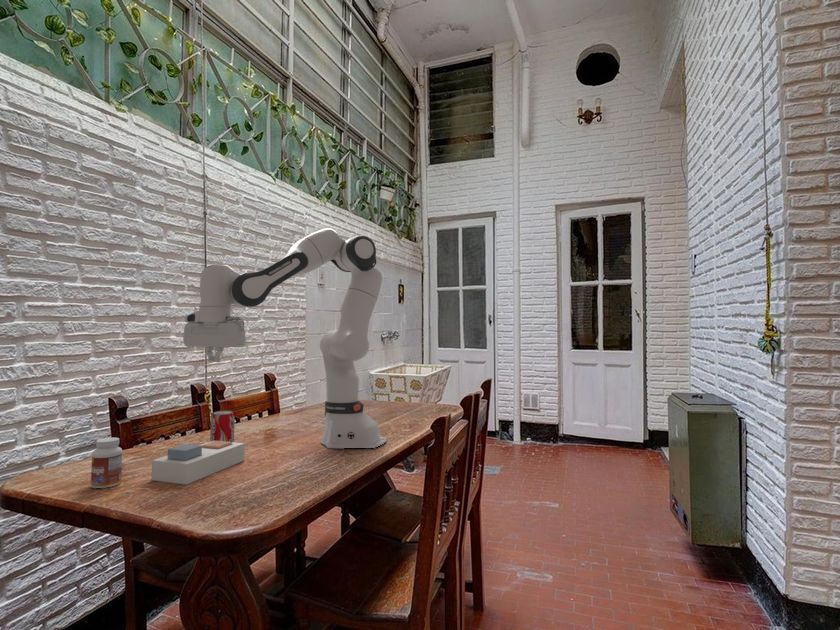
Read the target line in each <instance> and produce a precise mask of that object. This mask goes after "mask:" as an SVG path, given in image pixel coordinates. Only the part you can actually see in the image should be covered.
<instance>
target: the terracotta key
mask: <svg viewBox="0 0 840 630" xmlns="http://www.w3.org/2000/svg"><path fill="white" fill-rule="evenodd" d="M209 442H210V441H209ZM206 443H207V444H205V443H203V444H204V445H202V448H209V449H221V448H224V447H227V446H230V445H232V442H227V441H213V442H210V443H208V442H206Z"/></svg>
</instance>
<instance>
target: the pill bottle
mask: <svg viewBox="0 0 840 630" xmlns="http://www.w3.org/2000/svg"><path fill="white" fill-rule="evenodd" d="M119 445H120V438H119V437H105V438H104V437H103V438H99V439H97V440H96V442H95V446H96V449H94V451H92V453H91V471H90V487H91V488H92V489H96V488H102V489H107V488H106V487H110V488H113V487H115V485H116V486H117V485H119V484H120V483H121V482H122V470H123V469H122V468H123V449H122V448H121V447H120V446H119ZM112 486H113V487H112Z"/></svg>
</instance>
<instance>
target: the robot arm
mask: <svg viewBox="0 0 840 630" xmlns="http://www.w3.org/2000/svg"><path fill="white" fill-rule="evenodd" d="M328 262H331V263H332V264H333V265H334V266H335V267H336V268H337V269H338V270H340V271H342V272H344V273H351V282H350V284H349V285H348V288H347V291H346V294H345V296H344V298H343V301H342V304H341V306H340V320H339V326H338V328H337V329H333V330H330V331H327V332H326V333H325V334H323V336H322V337H321V339H320V340H319V341H320V342H319V348H320V352H321V353H322V357H323V364H324V371H325V377H326V378H325V380H326V396H325V398H326V400H325V402H324V416H325V420H324V427H323V432H322V437H321V441H320V444H322V445H324V446H325V447H326V448H327V449H344V448H374V449H376V448H375V447H378V446H380V445H382V444H384V443H385V442H386V443H387V437H385V436H381V432H380V431H381V430H380V427H379V424H378V422H376V421H375V420H374V419H373V418H372V417H370V416H369V415H368V414H367V413H365V412H364V407H366V405H365V404H366V402H362V401H360V400H359V393H360V392H359V383H360V381H359V376H358V374H357V371H356V368H355V363H354V362H357V361H359V360H361V359H363V358H365V356H366V355H367V353H368V352H369V349H370V343H369V339H368V335H369V334H368V333H369V326H370V320H371V318H372V314H373V312H374V309H375V306H376V304H377V300H378V297H379V294H380V290H381V287H382V282H383V276H382V275H383V274H382V272H381V270H379V269H378V268H376V267H375V266H376V265H377V248H376V245H375V242H374V241H373V239H371V238H370V237H368V236H366V235H355V236H353V237H351V238H348V239H347V240H345V239H343V238H342V237H341V236H340V235H339V233H338V232H337V231H336V230H334V229H332V228H329V227H328V228H327V227H326V228H322V229H320V230H316V231H315V232H312V233H310V234H308V235H306V236H304V237H303V238H301V239H299V240H298V241H296V242H295V243H294V244H293V245H291V247H290V248H288V249H287V252H286V254H285V255H284V256H283V257H282V258H280V259H279V260H278V261H275V262H274V263H272V264H271V265H268V266H267V267H265V268H264V269H262V270H259V271H253V272H244V273H242V274H241V273H240V272H238V271H235V270H234V269H233V268H231V266H230V265H228V264H223V263H222V264H212V265H207V266H206V267H204V268H203V270H202V271H201V274H200V278H199V279H200V280H199V296H200V302H199V307H198V310H196V311H194V312H192V313H189V314H187V315H185V316H184V322H185V325H184V327H183V336H182V338H183V339H182V340H183V342H182V343H183V344H184V345H185V347H190V348H191V347H192V348H193V347H198V348H201V347H202V348H204V352H205V354H206V355H207V361H208V362H209V363H220V361H221V356H222V354H223V352H224V350H225V349H224V348H244V347H245V345H246V331H245V321H244V319H243V318H242V317H240V316H231V315H232V314H231V313H232V312H231V310H232V309H231V306H232V305H234V306H238V307H240V308H251V307H257V306H259V305H261V304H263V303H264V301H265V300H266V299H267V298H268V296H269V294H270V293H271V292H272V290H273V289H274V288H276V287H277V286H280V285H281V284H282V283H284V282H285V281H287V280H289V279H290V278H292V277H293V276H296V275H305V274H307V273H310V272H313V271H314V270H316V269H318V268H320V267H321V266H323V265H325V264H327V263H328ZM214 350H215V353H213V351H214ZM386 443H385V444H386ZM385 444H384V445H385ZM382 446H383V445H382ZM380 447H381V446H380ZM378 448H379V447H378Z"/></svg>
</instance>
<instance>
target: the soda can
mask: <svg viewBox="0 0 840 630" xmlns="http://www.w3.org/2000/svg"><path fill="white" fill-rule="evenodd" d="M233 413H234V412H233V411H232V410H217V411H215V412H213V414H212V416H211V418H210V433H209V434H210V435H209V436H210V437H209V440H210V441H209V442H211V441H227V442H235V416H234V414H233Z"/></svg>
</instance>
